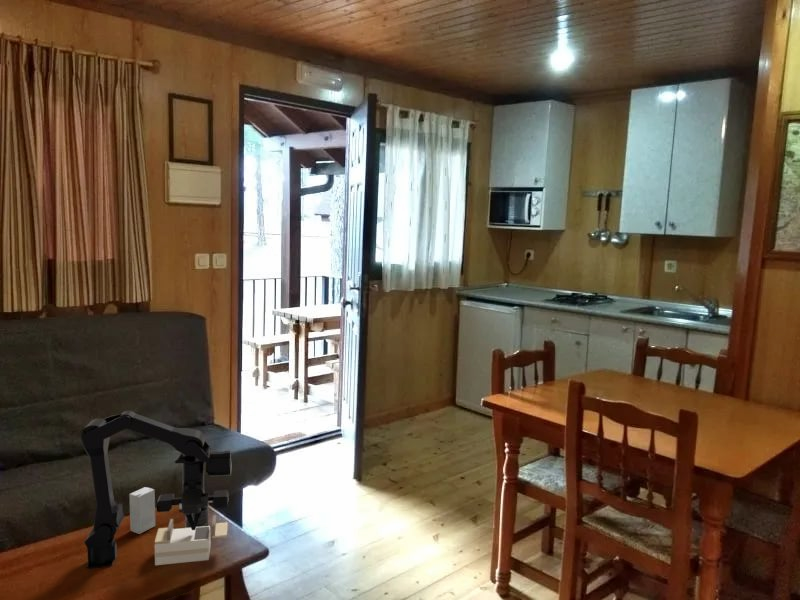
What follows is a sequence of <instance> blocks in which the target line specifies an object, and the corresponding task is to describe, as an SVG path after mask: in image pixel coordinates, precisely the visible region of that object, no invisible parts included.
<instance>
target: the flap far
mask: <svg viewBox="0 0 800 600" xmlns="http://www.w3.org/2000/svg"><path fill="white" fill-rule="evenodd" d="M228 525H229V523H228V521H226V522H217V514H213V515H212V524H211V538H212V539H216V538H217V539H218V538H227V537H228Z"/></svg>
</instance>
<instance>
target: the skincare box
mask: <svg viewBox="0 0 800 600" xmlns="http://www.w3.org/2000/svg"><path fill="white" fill-rule="evenodd" d="M128 496H129V521H130V522H129V525H130V531H131V532H133V533H134V534H135V533H136V534H139V535H141V534H142V533H144V532H146V531H148V530H151V529H152V528H154V527H156V499H155V489H154V488H151V487H148V486H147V487H146V486H144V487H142V488H140V489H138V490H135V491H133V492H131V493H129V495H128Z"/></svg>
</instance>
